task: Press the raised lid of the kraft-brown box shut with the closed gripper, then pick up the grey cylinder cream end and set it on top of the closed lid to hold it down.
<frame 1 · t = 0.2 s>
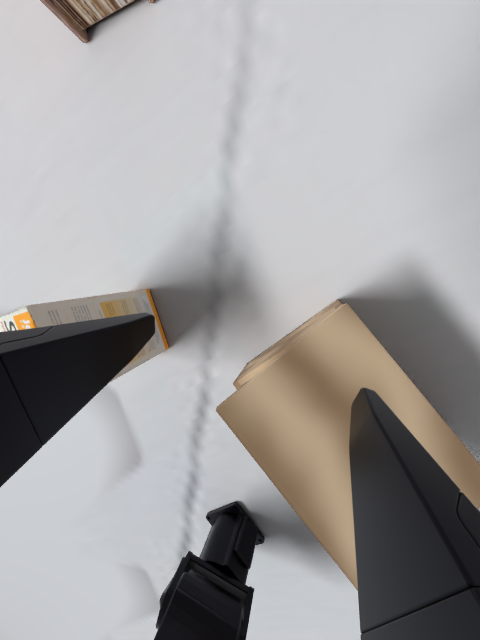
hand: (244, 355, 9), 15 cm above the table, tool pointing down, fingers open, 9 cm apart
supplement box: (147, 322, 30), on the table
lid: (355, 446, 16), point 8 cm above the table, hinge at 25.0°, touching kraft box
kraft box: (336, 393, 23), on the table
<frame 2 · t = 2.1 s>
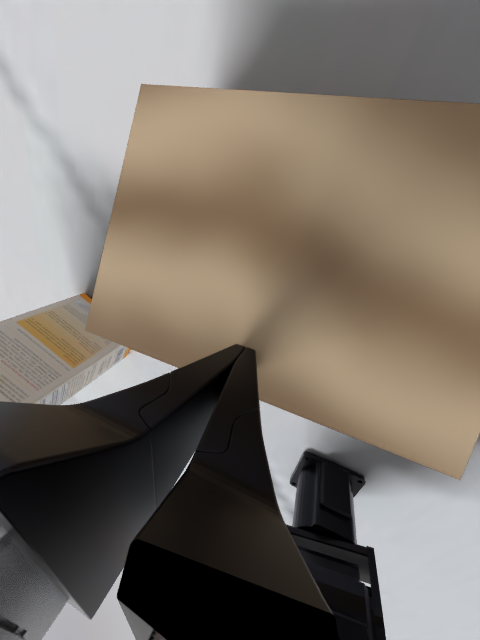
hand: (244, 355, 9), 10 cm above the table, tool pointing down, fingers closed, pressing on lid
supplement box: (109, 325, 28), on the table
lid: (276, 254, 9), point 8 cm above the table, hinge at 24.6°, touching gripper
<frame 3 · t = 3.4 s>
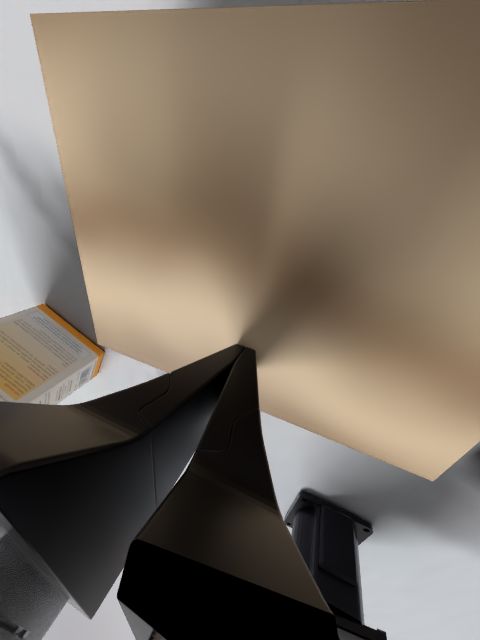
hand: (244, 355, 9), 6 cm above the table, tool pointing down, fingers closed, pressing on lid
supplement box: (75, 340, 24), on the table
lid: (262, 276, 8), point 5 cm above the table, hinge at 0.1°, touching gripper
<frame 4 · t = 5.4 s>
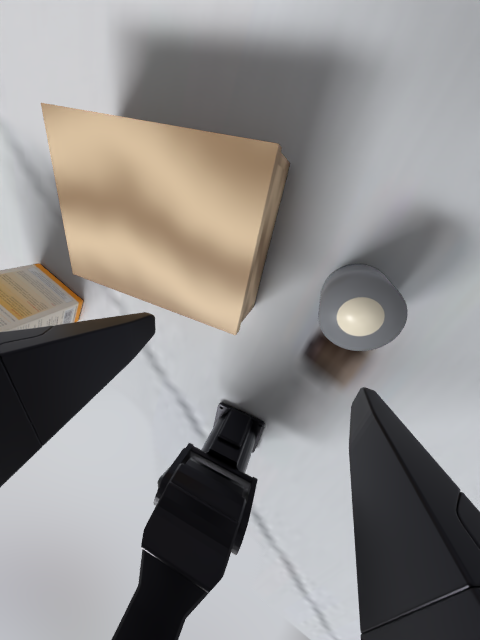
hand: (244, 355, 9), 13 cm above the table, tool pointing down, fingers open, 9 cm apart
supplement box: (62, 293, 32), on the table
lid: (149, 227, 16), point 5 cm above the table, hinge at 0.1°, touching kraft box
grey cylinder cream end: (353, 295, 19), on the table
kraft box: (188, 224, 21), on the table
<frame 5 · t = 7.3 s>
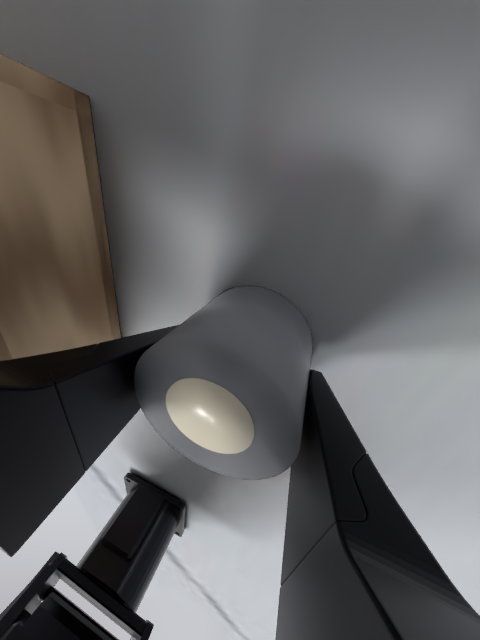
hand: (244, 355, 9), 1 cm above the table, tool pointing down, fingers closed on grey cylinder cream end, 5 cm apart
grey cylinder cream end: (253, 340, 10), on the table, touching gripper
kraft box: (1, 226, 13), on the table
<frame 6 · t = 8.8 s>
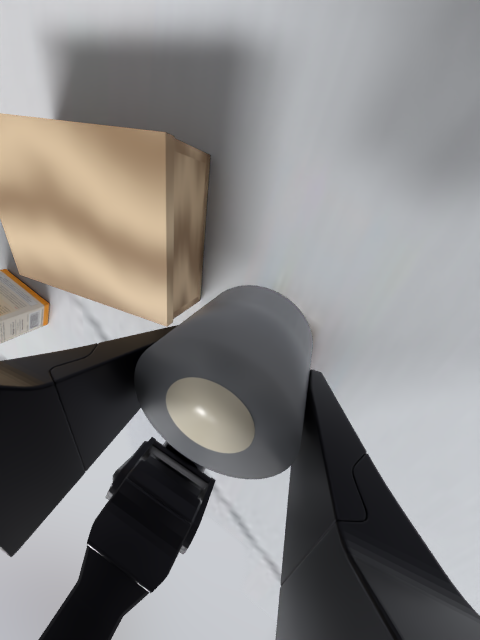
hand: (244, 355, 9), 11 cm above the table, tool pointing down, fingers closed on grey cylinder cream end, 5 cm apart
supplement box: (30, 297, 33), on the table
lid: (76, 224, 17), point 5 cm above the table, hinge at 0.1°
grey cylinder cream end: (253, 340, 10), point 10 cm above the table, touching gripper
kraft box: (130, 221, 21), on the table
when the fingers open (8 cm above the table, at t = 10.6 s): grey cylinder cream end drops 1 cm, point 6 cm above the table.
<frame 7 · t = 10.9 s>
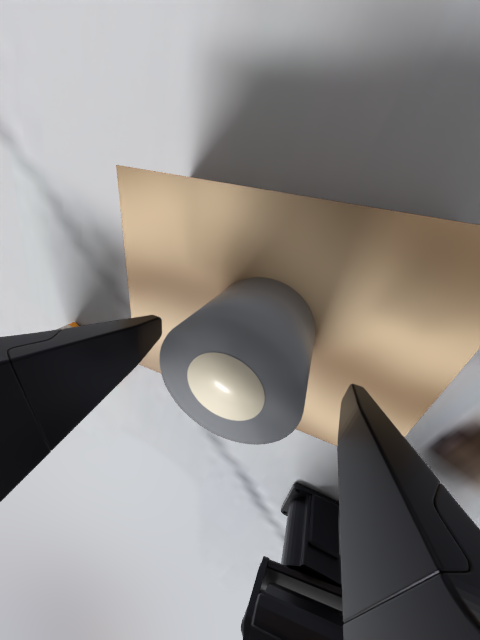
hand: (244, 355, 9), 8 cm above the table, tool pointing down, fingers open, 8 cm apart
lid: (262, 324, 12), point 5 cm above the table, hinge at -0.1°, touching kraft box
grey cylinder cream end: (261, 327, 11), point 6 cm above the table
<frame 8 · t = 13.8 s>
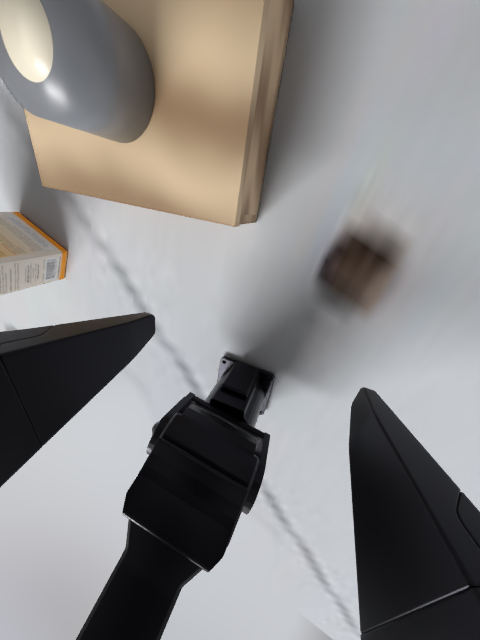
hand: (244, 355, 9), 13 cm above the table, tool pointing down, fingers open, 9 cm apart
supplement box: (45, 246, 29), on the table
lid: (122, 91, 13), point 5 cm above the table, hinge at -0.1°, touching kraft box
grey cylinder cream end: (116, 86, 13), point 6 cm above the table
kraft box: (175, 122, 18), on the table
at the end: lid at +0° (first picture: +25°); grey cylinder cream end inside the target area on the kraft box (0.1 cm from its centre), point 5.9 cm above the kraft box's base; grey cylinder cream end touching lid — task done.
